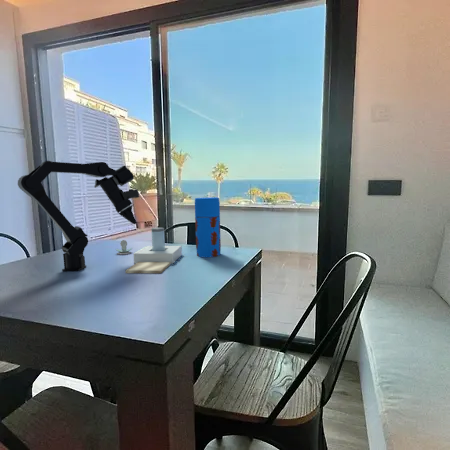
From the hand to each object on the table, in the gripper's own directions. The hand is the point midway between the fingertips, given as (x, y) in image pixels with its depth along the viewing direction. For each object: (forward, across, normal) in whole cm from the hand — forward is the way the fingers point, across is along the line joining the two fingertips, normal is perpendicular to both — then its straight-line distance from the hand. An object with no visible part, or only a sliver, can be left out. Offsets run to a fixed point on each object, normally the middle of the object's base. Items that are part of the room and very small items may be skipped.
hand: (135, 223), depth 134 cm
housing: (+18, +1, 0) cm, 18 cm away
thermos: (+29, 0, -18) cm, 34 cm away
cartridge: (+18, +1, 0) cm, 18 cm away
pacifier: (+10, +19, +11) cm, 24 cm away
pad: (+16, -14, +6) cm, 22 cm away
